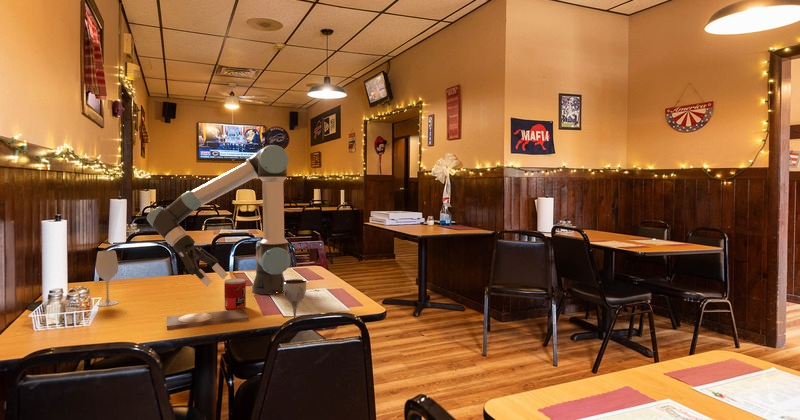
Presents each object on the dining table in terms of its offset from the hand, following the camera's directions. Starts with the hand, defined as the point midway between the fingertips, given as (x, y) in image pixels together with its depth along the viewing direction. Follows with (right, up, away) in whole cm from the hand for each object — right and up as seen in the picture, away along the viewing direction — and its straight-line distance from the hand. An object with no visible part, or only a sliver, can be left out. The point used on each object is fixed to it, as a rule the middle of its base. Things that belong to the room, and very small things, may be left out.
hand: (218, 280), depth 184 cm
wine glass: (+34, -13, -19) cm, 41 cm away
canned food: (+6, -11, +1) cm, 13 cm away
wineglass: (-45, -10, +4) cm, 47 cm away
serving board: (+3, -12, -16) cm, 20 cm away
